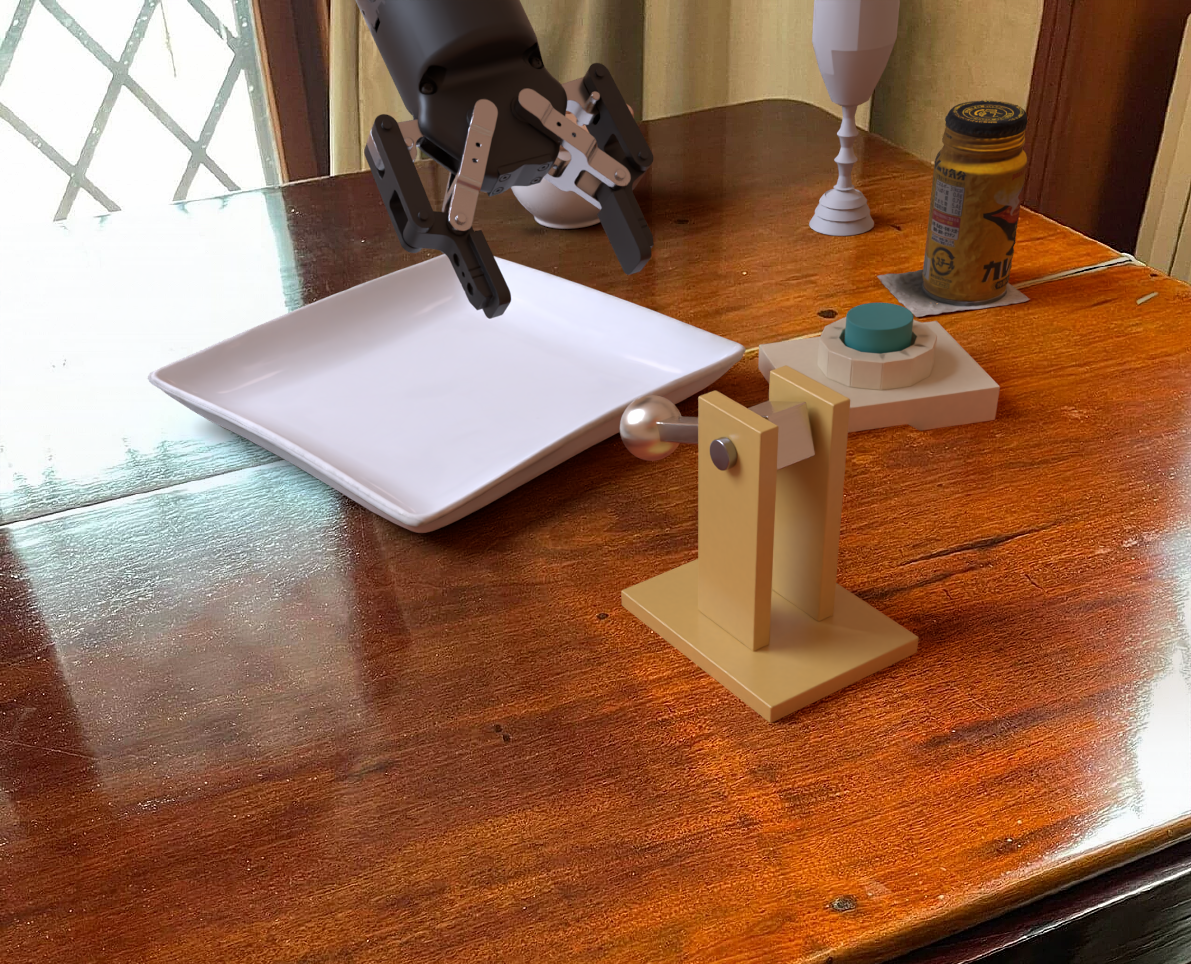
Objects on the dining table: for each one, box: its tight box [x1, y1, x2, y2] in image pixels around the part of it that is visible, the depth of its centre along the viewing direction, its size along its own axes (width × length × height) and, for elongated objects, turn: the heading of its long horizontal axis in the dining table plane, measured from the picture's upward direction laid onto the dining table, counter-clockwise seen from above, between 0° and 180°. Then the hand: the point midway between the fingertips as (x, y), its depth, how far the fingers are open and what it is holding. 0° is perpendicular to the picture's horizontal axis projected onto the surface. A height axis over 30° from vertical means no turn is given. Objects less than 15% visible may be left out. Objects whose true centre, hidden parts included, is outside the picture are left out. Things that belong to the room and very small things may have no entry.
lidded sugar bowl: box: [510, 103, 635, 230], centre depth 112 cm, size 11×11×9 cm
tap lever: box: [619, 395, 815, 470], centre depth 67 cm, size 13×3×3 cm, turn 34°
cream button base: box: [757, 316, 1001, 433], centre depth 87 cm, size 12×10×4 cm
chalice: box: [808, 0, 901, 237], centre depth 105 cm, size 7×7×18 cm
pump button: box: [845, 302, 915, 354], centre depth 85 cm, size 4×4×2 cm
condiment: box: [876, 99, 1031, 318], centre depth 96 cm, size 7×8×12 cm
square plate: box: [147, 253, 747, 534], centre depth 88 cm, size 27×27×4 cm
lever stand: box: [620, 365, 919, 724], centre depth 65 cm, size 12×9×13 cm
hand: (571, 288), depth 72 cm, fingers open, 8 cm apart
